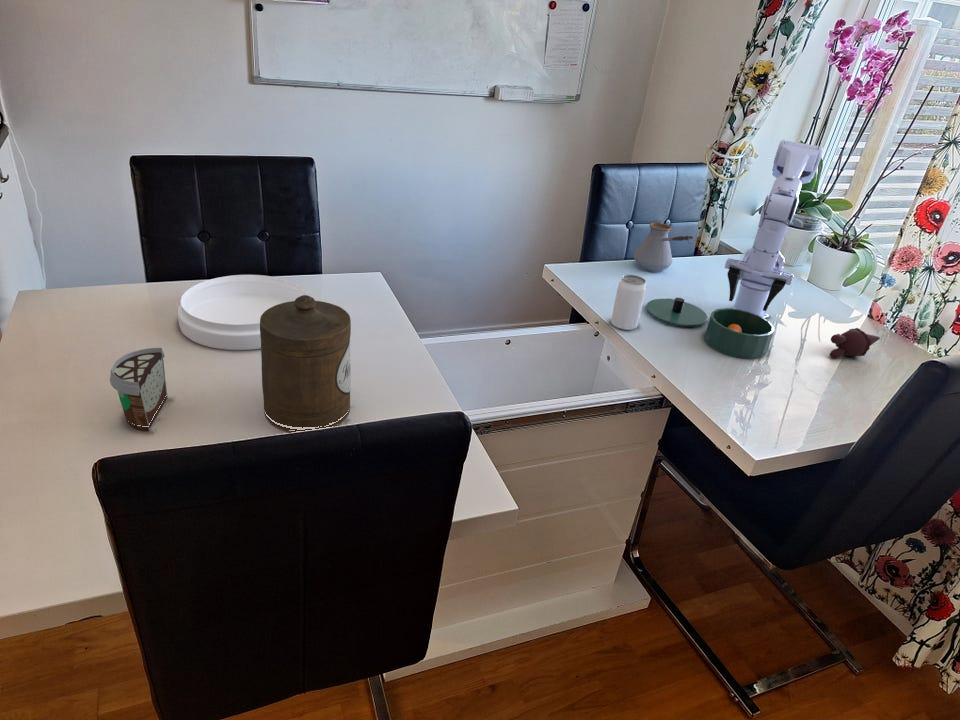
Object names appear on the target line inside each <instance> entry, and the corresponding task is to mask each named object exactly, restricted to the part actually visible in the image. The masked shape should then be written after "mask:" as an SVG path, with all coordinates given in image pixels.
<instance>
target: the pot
mask: <svg viewBox="0 0 960 720" xmlns="http://www.w3.org/2000/svg"><path fill="white" fill-rule="evenodd" d="M731 324H737V325H739V326H740V327H741V329H742V333H741V332H737V331H734V330H731V329H729V328H727V327H728V326H729V325H731ZM774 334H775V326H774V324H773V323H772V322H771V321H770V320H768V319H767V318H763V317H761V316H759V315H756V314H754V313H751V312H747V311H743V310H739V309H733V308H730V307H729V308H728V307H726V308H717V309H715V310H713V311H711V314H710V316H709V320H708V322H707V326H706V330H705V333H704V341H705V343H706V344H707V345H708V346H710V347H711V348H713V350H715V351H717V352H719V353H722V354H723V355H727V356H729V357H734V358H739V359H744V360H746V359H747V360H757V359H760V358H763V357H764V356H765V355H766V354H767V353H768V351H769V348H770V344H771V342H772V339H773V337H774Z"/></svg>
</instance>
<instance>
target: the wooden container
mask: <svg viewBox="0 0 960 720" xmlns="http://www.w3.org/2000/svg"><path fill="white" fill-rule="evenodd" d="M351 321H352V319H351V316H350V314H349V313H348V312H347V311H346V310H345V309H344V308H342V307H341V306H338V305H336V304H333V303H330V302H326V301H321V300H315V298H314V297H312V296H310V295H307V294H305V295H302V296H300V297H298V298H296V299H295V301H291V302H285V303H281V304H278V305H275V306H273V307H271V308H269V309H268V310H266V311H265V312H264V313H263V314H262V315H261V318H260V337H261V349H260V357H261V361H260V362H261V386H262V387H261V388H262V398H263V400H262V401H263V412H264V410H265V412H266V414H267V415H268V416H269V417H270V418H271V419H272V420H274V421H275V422H277V423H280V424H283V425H287V426H292V427H302V428H303V427H318V426H319V428H326V427H332V426H335V427H337V426H339V425H340V424H341V423H343V422H344V421H345V420H346V419H347V418H348V416H349V414H350V411H351V381H352V380H351V379H352V378H351V377H352V376H351V373H352V372H351V369H352V368H351V334H352V333H351V331H352V329H351V328H352V323H351ZM349 408H350V409H349ZM348 410H349V411H348ZM265 412H264V417H265V419H266V420H267V422H268V423H269V424H270V425H272V426H273V427H275V428H277V429H278V430H281V431H284V432H288V431H289V430H295V431H289V432H288V433H292V432H296V431H305V430H312V429H305V430H297V429H290V428H286V427H282V426H280V425H277V424H275V423H274V422H272V421H271V420H270V419H269V418H268V417H267V416H266V414H265ZM347 412H348V413H347ZM346 413H347V414H346ZM345 414H346V415H345ZM344 415H345V416H344ZM343 416H344V417H343ZM341 417H343V418H342V419H341V420H339V421H338V419H340V418H341ZM336 421H338V422H336ZM332 422H336V423H334V424H332V425H329V423H332ZM337 424H338V425H337ZM326 425H329V426H326ZM320 426H322V427H320ZM324 426H326V427H324ZM319 428H315V429H319Z"/></svg>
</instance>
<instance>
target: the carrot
mask: <svg viewBox="0 0 960 720" xmlns="http://www.w3.org/2000/svg"><path fill="white" fill-rule="evenodd" d="M727 328H729V329H731V330H734V331H737V332H741V333H742V329H741V327H740V326H739V325H737V324H731V325H729V326H728V327H727Z"/></svg>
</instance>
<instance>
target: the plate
mask: <svg viewBox="0 0 960 720" xmlns="http://www.w3.org/2000/svg"><path fill="white" fill-rule="evenodd" d="M302 295H306V292H305V291H304V290H303V289H302V287H300V286H299V285H297V284H296V283H295V282H292V281H289V280H287V279H284V278H280V277H276V276H270V275H263V274H234V275H226V276H221V277H220V276H219V277H215V278H211V279H207V280H204V281H201V282H199V283H197V284H194V285H193V286H191V287H190V288H188V289H187V290H186V291H185V292H184V293H183V294H182V296H181V298H180V303H179V305H178V307H177V320H178V327H179V330H180V331H181V333H182V334H183V335H184V336H185V337H186V338H187V339H189V340H190V341H192V342H194V343H196V344H198V345H202V346H205V347H208V348H213V349H218V350H224V351H225V350H226V351H228V350H229V351H252V350H253V351H254V350H261V337H260V318H261V315H262V314H263V313H264V312H265V311H266V310H268V309H269V308H271V307H273V306H275V305H278V304H281V303H285V302H291V301H295V299H296V298H298V297H300V296H302Z"/></svg>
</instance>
